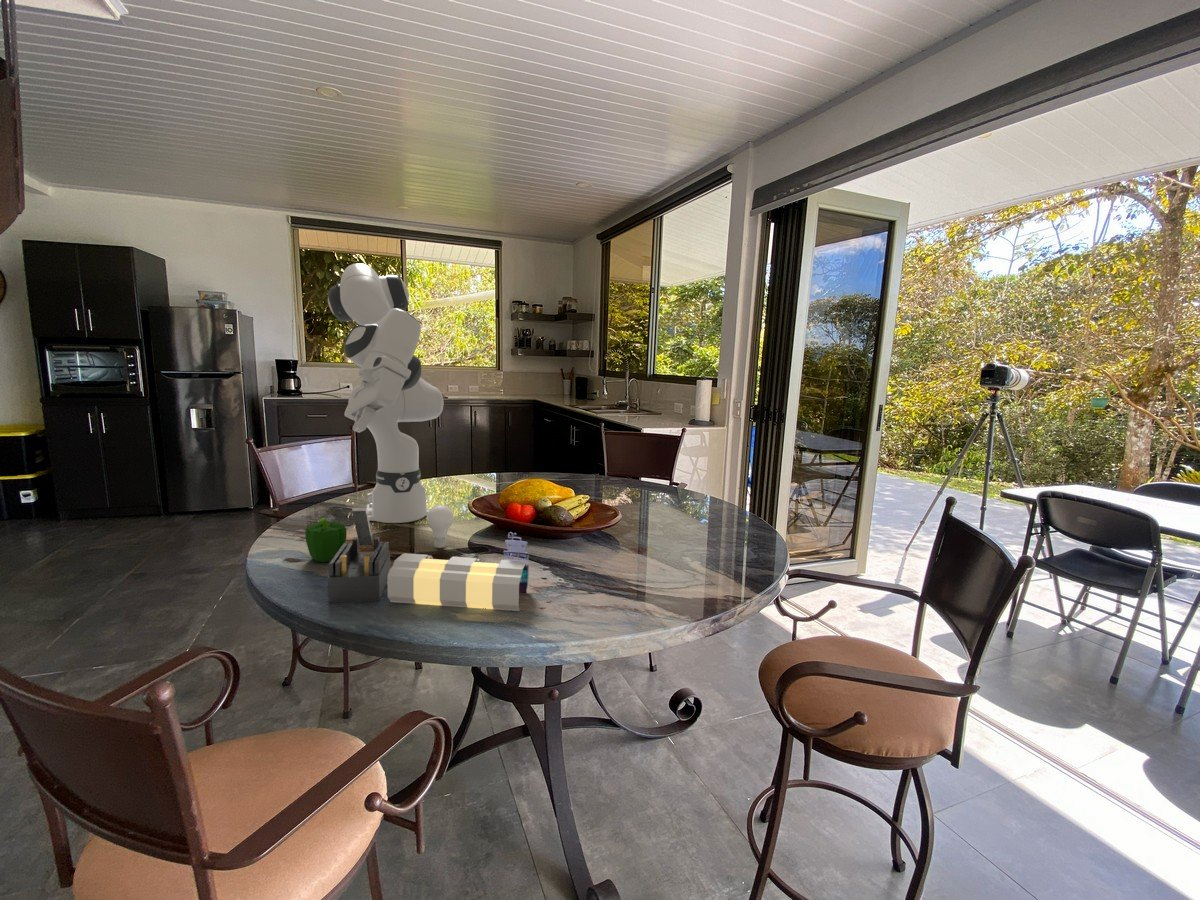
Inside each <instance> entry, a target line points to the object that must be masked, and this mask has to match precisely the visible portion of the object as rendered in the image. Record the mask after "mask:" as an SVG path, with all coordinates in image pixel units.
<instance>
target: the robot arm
mask: <svg viewBox="0 0 1200 900" xmlns="http://www.w3.org/2000/svg"><path fill="white" fill-rule="evenodd" d="M409 301H410V293H409V289H408V287H407V285H406V283H405V282H404V281H403V280H402V278H401V276H399V275H397V274H386V275H385V276H379V275H378V273H377V271H375V269H373V268H372V267H371V266H370V265H368V264H365V263H361V262H360V263H358V262H357V263H352V264H350V265H348V266H347V267H346V268H345V269H344V270H343V272H342V275H341V278H340V283H336V284H335V285H334V286H332V287H330V289H329V290H328V292H327V303H328V306H329V309H330V311H331V312H332V314H333V315H334V316H335V318H336V319H337V320H339V321H340V322H348V323H349V322H353V321H354V322H356V324H358V325H356V326H353V327H352V329H350V331H349V333H348V334H347V336H346V338H345V341H344V343H343V344H344V345H343V346H344V348H343V349H344V354H345V356H346V359H349V361H351V362H353V363H354V364H355V365H357V367H360V369H359V371H358V376H359V377H360V379H361V384H359V385H356V386H354V387H353V389H352V390H351V392H350V394H349V395H348V402H347V403H348V404H347V405H346V408H345V411H344V417H346V418H348V419H350V420H352V421H354V424H353V426H352V431H354V432H356V433H362V432H364V431H365V430H367V429H368V430H369V431H370V432H371V434H372V437H373V439H374V441H375V445H376V452H377V470H376V473H375V481H376V484H375V486H374V488H373V490H372V491H371V492H368V493H367V502H370V503H368V504H367V505H366V507H365V508H366V509H367V514H368V519H369V522H371V521H372V522H378V523H387V524H397V523H398V524H400V523H402V524H404V523H410V522H415V521H418V520H422V519H423V518H425V517H427V513H428V511H429V510H430V509H431V508H428V507H427V495H426V492H427V491H426V487H425V486H424V485H422V483H421V475H422V473H421V469H420V468H419V467H420V466H419V463H420V462H419V458H420V456H419V454H420V452H419V449H420V448H419V444H418V442H417V440H416V439H415V438H413V437H412V436H410V435H408V434H406V433H404V432H401V431H400V429H399V424H398V423H411V422H412V423H413V422H417V423H418V422H420V423H421V422H425V421H430V420H435V419H437V418H438V417H440V415H441V414H442V412H443V410H444V404H445V403H444V397H443V394H442V392H441V391H440V389H438V387H437V386H434V385H432V384H430V383H428V381H426V380H425V379H423V378H422V377H421V375H422V363H421V359H420V358H419V357H418V356H416V355H415V351H416V349H417V346H418V343H419V340H420V337H421V332H422V331H421V330H422V327H421V323H420V322H419V321H418V319H417V318H415V316H414V315H412V314H410V313H409V312H408V311H406V310H407V308H408V306H409Z"/></svg>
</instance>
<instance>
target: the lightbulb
mask: <svg viewBox="0 0 1200 900" xmlns="http://www.w3.org/2000/svg"><path fill="white" fill-rule="evenodd" d="M429 509H430V510H429V511H428V513H427V516H426V522H427V525H428V526H429V528H430V530H431V532H432V535H433V537H434V538H433V539H434V543H433V544H434V547H435V548H437V549H439V550H441V549H443V548H445V547H446V544H447V543H446V539H447V535H448V531H449V529H450V528H451V527H452V524H453V522H454V512H453V510H452V509H451V507H448V506H447V505H444V504H435V505H434V506H432V507H431V508H429Z"/></svg>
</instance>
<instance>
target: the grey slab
mask: <svg viewBox="0 0 1200 900" xmlns="http://www.w3.org/2000/svg"><path fill="white" fill-rule="evenodd" d="M366 508H367V507H352V508H351V513H352V519H353V522H354V527H355V531H356V535H357V536H356V537H358V540H359V546H374V538H373V535H372V529H371V525H370V521H369V519H368V514H367V509H366Z"/></svg>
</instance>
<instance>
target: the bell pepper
mask: <svg viewBox="0 0 1200 900" xmlns="http://www.w3.org/2000/svg"><path fill="white" fill-rule="evenodd" d="M304 532H305V542H306V546H307V549H308V552H309V556H310V557H311V558H312V559H314V560H315V561H316V562H319V563H320V562H321V563H326V562H328V563H329V562H331V560H332V559H333V557H334V556H335V555H336V553H337V552H338V551H339V549H340V548H341V547H342V545H343V544H344V543H347V528H346V526H345V524H342V523H340V522H339V521H333V522H330V523H328V520H327V518H325V517H322V518H320V519H319V521H316V522H315V523H313V524H312V525H308V526H306V528H305V531H304Z"/></svg>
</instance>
